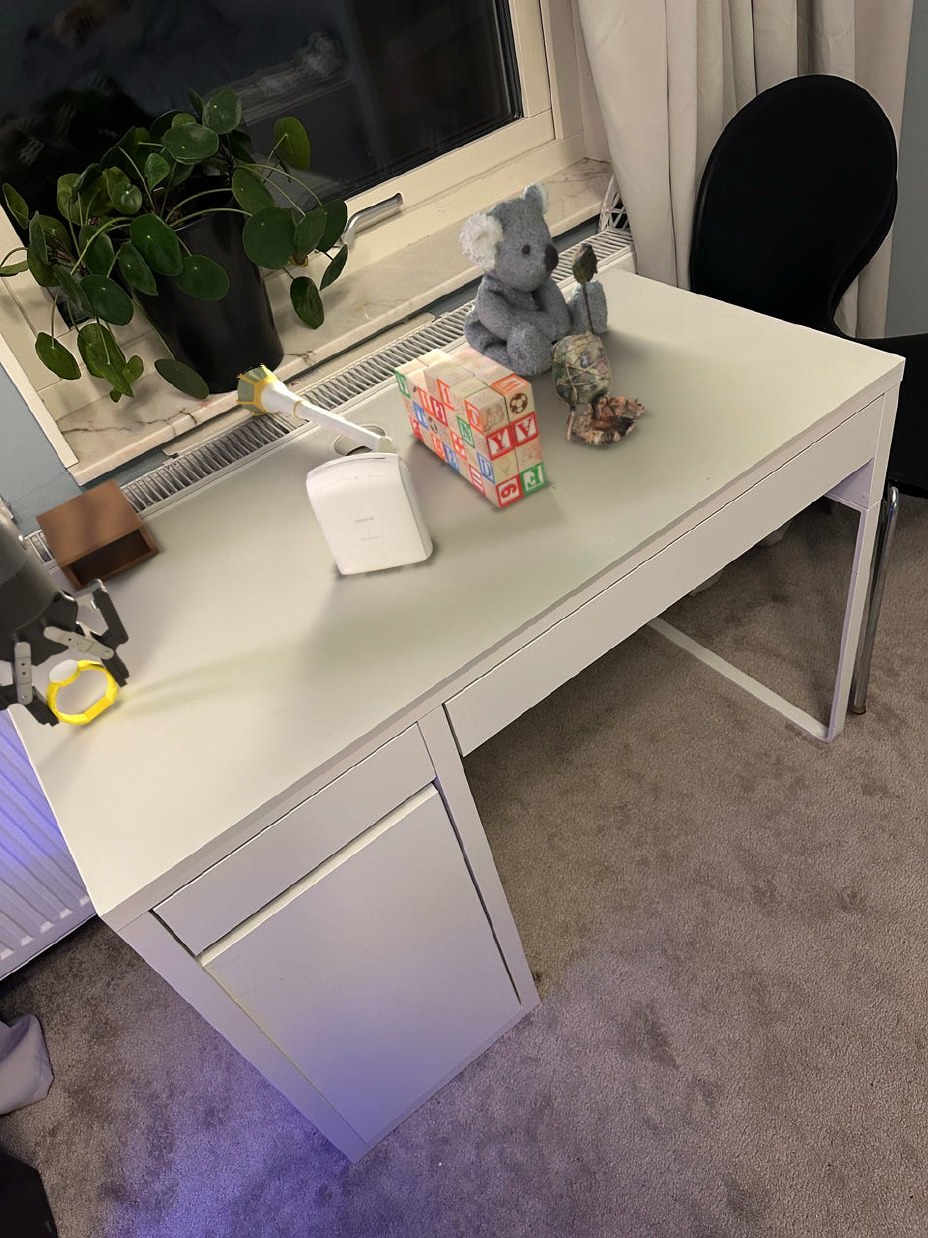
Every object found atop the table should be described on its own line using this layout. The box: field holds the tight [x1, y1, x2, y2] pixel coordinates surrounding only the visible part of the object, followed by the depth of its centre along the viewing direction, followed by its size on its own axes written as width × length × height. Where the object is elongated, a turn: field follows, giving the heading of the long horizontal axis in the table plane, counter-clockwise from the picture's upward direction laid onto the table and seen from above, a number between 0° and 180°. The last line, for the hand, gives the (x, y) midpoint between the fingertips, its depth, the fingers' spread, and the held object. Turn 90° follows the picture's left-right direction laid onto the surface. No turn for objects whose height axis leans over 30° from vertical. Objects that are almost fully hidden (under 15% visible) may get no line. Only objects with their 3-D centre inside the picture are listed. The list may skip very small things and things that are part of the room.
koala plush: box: [456, 180, 609, 377], centre depth 110 cm, size 17×18×20 cm
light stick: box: [234, 364, 393, 453], centre depth 110 cm, size 7×6×30 cm
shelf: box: [35, 478, 160, 592], centre depth 100 cm, size 10×13×4 cm
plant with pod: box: [547, 242, 647, 447], centre depth 90 cm, size 8×11×20 cm
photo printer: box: [305, 452, 434, 575], centre depth 84 cm, size 10×4×12 cm, turn 91°
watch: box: [45, 659, 118, 726], centre depth 78 cm, size 6×3×6 cm, turn 136°
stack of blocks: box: [393, 346, 547, 509], centre depth 94 cm, size 21×6×12 cm, turn 30°
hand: (88, 700), depth 79 cm, fingers closed on watch, 6 cm apart
